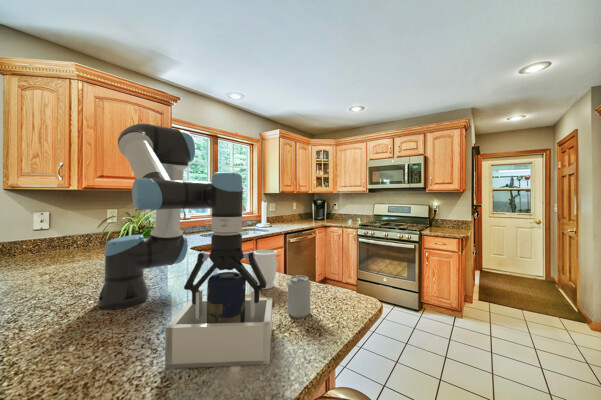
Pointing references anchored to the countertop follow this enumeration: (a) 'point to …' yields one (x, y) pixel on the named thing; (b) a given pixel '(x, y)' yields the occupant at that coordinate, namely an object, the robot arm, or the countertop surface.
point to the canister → (226, 298)
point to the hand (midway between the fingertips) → (226, 315)
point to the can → (299, 296)
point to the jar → (266, 265)
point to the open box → (219, 338)
